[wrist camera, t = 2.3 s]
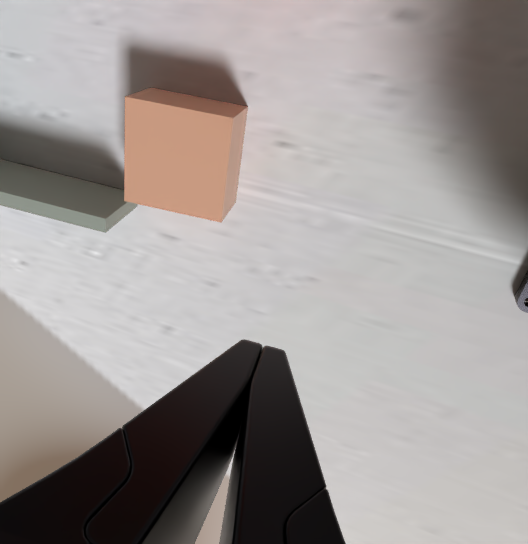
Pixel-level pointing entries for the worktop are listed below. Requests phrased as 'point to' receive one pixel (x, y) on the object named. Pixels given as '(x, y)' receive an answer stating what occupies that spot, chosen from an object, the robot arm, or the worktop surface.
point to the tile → (183, 152)
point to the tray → (61, 197)
